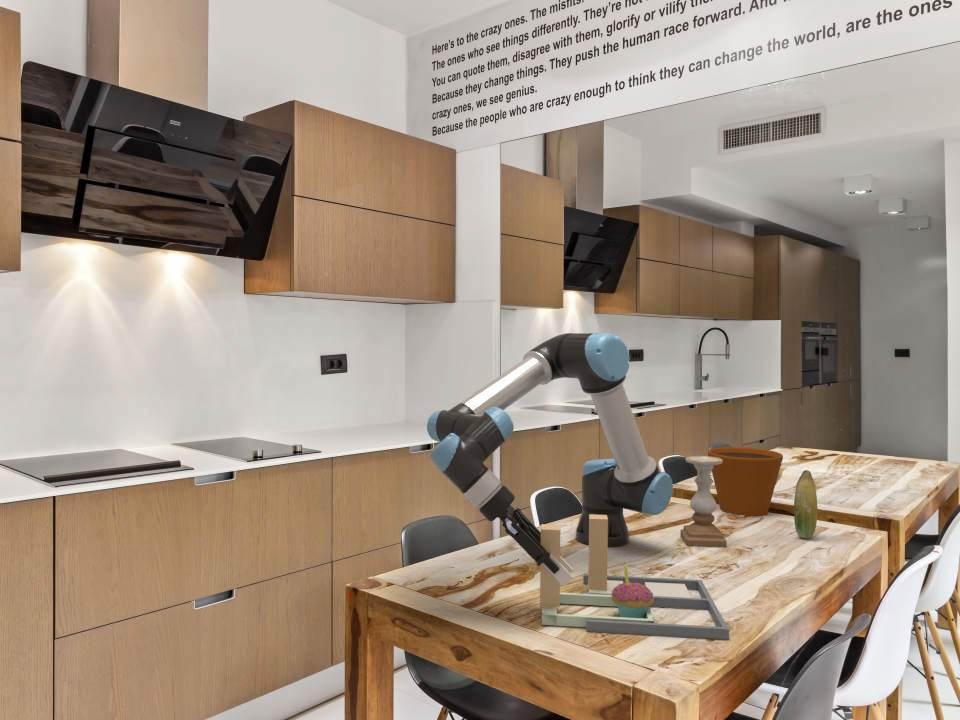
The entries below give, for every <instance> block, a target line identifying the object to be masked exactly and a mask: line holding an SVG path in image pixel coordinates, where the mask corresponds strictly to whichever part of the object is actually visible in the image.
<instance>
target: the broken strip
mask: <svg viewBox="0 0 960 720" xmlns="http://www.w3.org/2000/svg"><path fill="white" fill-rule="evenodd" d="M608 547H609V546H608V518H607V515H593V514H589V545H588V572H587V573H588V574H587V575H588V584H587V588H588V593H606V594H612V590H614V588H615V587H616V586H618V585H619V584H622V583H623V581H614V580H607V576H608V550H609V549H608ZM645 586H646V587H647V588H648V589H649V590H650V591H651V592H652V593H653V596H664V597H684V598H692V595H691V594H690V592H689V589H687V588H686V586H685V584H675V583H654V582H645Z"/></svg>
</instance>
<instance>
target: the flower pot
mask: <svg viewBox="0 0 960 720" xmlns="http://www.w3.org/2000/svg"><path fill="white" fill-rule="evenodd" d="M707 456H710V457H717V458H721V459H722V460H723V463H722V464H719V465H714V468H713V469H712V470H711V473H712V478H713V479H712V480H713V484H714V487H715V491H716V495H717V500H718V504H719V507H720V511H722V512H723V513H727V514H729V513H731V514H730V515H734V514H737V515H736V516H740V515H745V516H744V517H751V516H759V517H764V516H763V515H765V516H767V515H768V512H769V510H770V505H771V503H772V497H773V494H774V491H775V489H776V484H777V481H778V477H779V474H780V470H781V466H782V463H783V460H784V455H783V454H782V453H781V452H778V451H775V450H769V449H762V448H754V447H753V448H752V447H734V446H727V447H723V446H722V447H714V448H710V449H708V450H707Z"/></svg>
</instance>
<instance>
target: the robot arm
mask: <svg viewBox="0 0 960 720" xmlns="http://www.w3.org/2000/svg"><path fill="white" fill-rule="evenodd" d="M630 359H631V358H630V353H629V350H628V348H627V345H626V343H625V342H624V341H623V340H622V338H621V337H619V336H618V335H615V334H613V333H606V332H598V331H597V332H594V333H592V332H586V333H585V332H583V333H582V332H581V333H579V332H577V333H576V332H574V333H572V332H566V333H561V334H557V335H556V336H553V337H550V338H549V339H547V340H545V341H543V342H542V343H540V344H538V345H536V346H534V348H532V349H530V350H529V351H527V352H526V353H525V354H524V355H523V358H522V361H519V362H518V363H517V364H515V365H514V366H512V367H511V368H509V369H508V370H507V371H505V372H503V373H502V374H500V375H498V376H497V377H495V379H493V380H492V381H490V382H489V383H487V384H486V385H485V386H483V387H481V388H480V389H478V390H477V391H475V392H474V393H473V394H471V395H470V396H469V397H467V398H465V399H464V400H462V401H460V403H458V404H456V405H455V406H453V407H452V408H450V409H449V410H448V409H447V410H445V409H443V410H437V411H434V412H433V413H432V414H430V416H428V417H429V418H428V420H427V422H426V431H427V434H428V435H429V438H431V440H433V441H434V442H438V443H439V444H437V445H436V447H434V448H433V449H432V450H431V451H430V454H429V456H430V457H429V458H430V460H431V461H432V462H433V463H434V465H435V466H436V467H437V469H438V470H439V471H440V473H442V474H443V475H444V476H445V478H447V479H448V480H449V481H450V482H451V483H452V484H453V485H454V486H455V487H456V488H457V489H458V490H459V491H460V492H461V493H462V494H463V495H464V496H465V498H464V499H465V501H466V502H471V504H472V505H473V506H474V507H475V508H476V507H477V508H478V507H479V508H478V509H479V512H480V513H481V514H482V515H483V516H484V518H485V519H486V520H487V521H488V522H493V521H495V520H496V519H497V518H498V519H500V521H501V522H502V524H501V525H502V526H503V528H504V531H505V533H506V534H508V535H509V537H511V538H512V539H513V540H514V541H515V542H516V543H517V544H518V545H519V546H520V547H521V548H522V549H523V550H524V551H525V553H527V554H528V555H529V557H531V559H532V560H534V562H535V563H536V565H537V566H538V567H540V565H541V564H542V565H543V566H544V567H545V568H546V569H547V570H548V571H549V572H550V573H551V574H552V575H553V576H554V577H555V578H556V579H557V580H558V581H559V582H560V585H562V587H563V588H564V587H565V586H567V584H570V582H571V581H572V580H573V579H574V576H573V575H572V574H571V573H572V572H573V571H574V569H573V567H571V566H570V564H568V563H567V561H566V560H565V559H564V558H563V556H561V555H560V562H559V561H558V560H557V559H556V558H555V557H554V556H553V555H552V554H549V553H548V552H547V551H546V550H545V549H544V547H543V546H542V545H541V530H539V529H538V528H537V527H536V526H535V525H534V523H533V522H531V520H530V519H529V518H527V516H526V515H525V514H524V513H523V511H522V510H521V508H520V507H517V508H514V507H513V506H512V503H514V500H515V498H516V496H515V495H514V494H513V492H512V491H511V490H510V489H508V487H507V486H505V485H501V484H502V481H501V480H500V479H499V478H498V477H497V476H496V474H495V473H493V472H492V470H491V469H490V468H488V467H487V465H486V464H485V463H484V462H486V460H487V459H488V458H489V457H490V456H491V455H492V454H493V453H495V451H496V450H498V448H499V447H501V446H502V445H503V444H505V442H506V441H507V439H508V438H509V437H510V435H512V434H513V431H514V428H515V427H514V421H513V420H512V418H511V416H510V415H509V414H508V413H507V412H506V411H505V410H506V409H508V408H509V407H510V406H511V405H512V404H514V403H515V402H517V401H519V400H520V399H521V398H523V397H524V396H526V395H528V393H530V392H531V391H532V390H534V389H535V388H537V387H538V386H539V385H542V386H544V385H547V384H549V383H550V382H552V381H554V380H558V379H564V378H567V379H577V380H578V381H579V385H580V388H581V390H582V391H583V392H584V393H585V394H587V395H590V396H591V399H592V402H593V405H594V407H595V411H596V412H597V413H596V414H597V416H598V418H599V419H598V420H599V421H600V424H601V427H602V429H603V432H604V435H605V438H606V441H607V443H608V446H609V448H610V451H611V454H612V456H613V458H603V459H602V458H601V459H592V460H587V461H585V462H584V464H583V466H582V474H581V486H582V487H581V492H582V493H581V497H582V498H581V501H582V505H581V507H582V508H581V513H580V514H581V515H580V516H579V517H580V518H579V520H578V522H577V525H576V529H575V540H577V541H578V542H579V541H580V542H579V543H583V544H585V545H588V546H589V514H593V515H607V518H608V547H618V546H619V547H620V546H623V545H627V544H628V543H629V542H630V532H629V528H628V525H627V522H626V518H625V516H624V510H629V511H632V512H637V513H640V514H644V515H652V516H656V515H657V516H658V515H661V513H663V512H664V511H665V510H666V509H667V508H668V506H669V504H670V502H671V500H672V495H673V492H674V491H673V490H674V489H673V487H674V485H673V479H672V477H671V475H669V474H668V473H667V472H665V471H660V470H659V467H658V465H657V462H656V460H655V458H654V457H652V456H649V455H648V453H647V451H646V448H645V444H644V441H643V439H642V436H641V432H640V430H639V428H638V425H637V421H636V419H635V416H634V412H633V410H632V408H631V404H630V402H629V399H628V395H627V393H626V390H625V387H624V382H625V381H626V379H627V373H628V371H629V368H630V363H629V362H630Z"/></svg>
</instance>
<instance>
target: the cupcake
mask: <svg viewBox="0 0 960 720" xmlns="http://www.w3.org/2000/svg"><path fill="white" fill-rule="evenodd" d="M623 572H624V576H625V581H626V582H625V583H622V584H619V585H618V586H616V587H615V588H614V590H612V600H613V602H614V603H616V605H617V606H616V607H617V610H618V614H619V617H625V618H643V619H645V614H646V610H647V609H648V607H649V606H651V605H652V604H653V603H654V598H653V593H652V592H651V591H650V590H649V589H648V588H647V587H646V586H644V585H643V584H641V583H635V582H634V583H632V582H629V579H628V577H629V574H628V565H627V563H626V562H625V561H623Z"/></svg>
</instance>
